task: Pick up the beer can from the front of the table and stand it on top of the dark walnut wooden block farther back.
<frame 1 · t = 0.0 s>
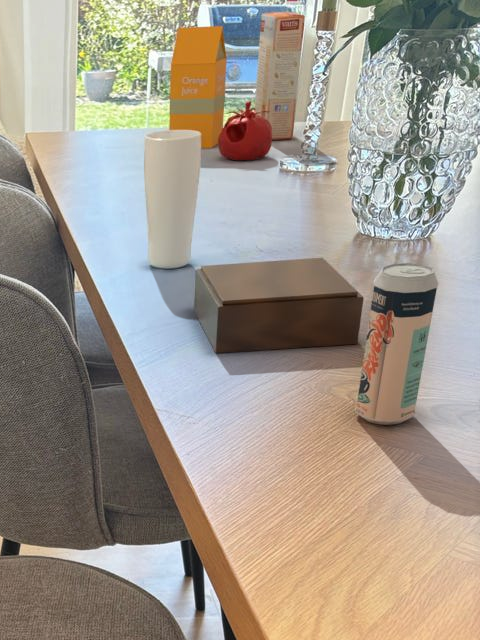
walnut block: (270, 326, 104), on the table
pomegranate: (243, 159, 182), on the table
orange juice: (195, 145, 197), on the table
cracker box: (272, 136, 200), on the table
drinking glass: (169, 265, 127), on the table
beer can: (383, 418, 83), on the table
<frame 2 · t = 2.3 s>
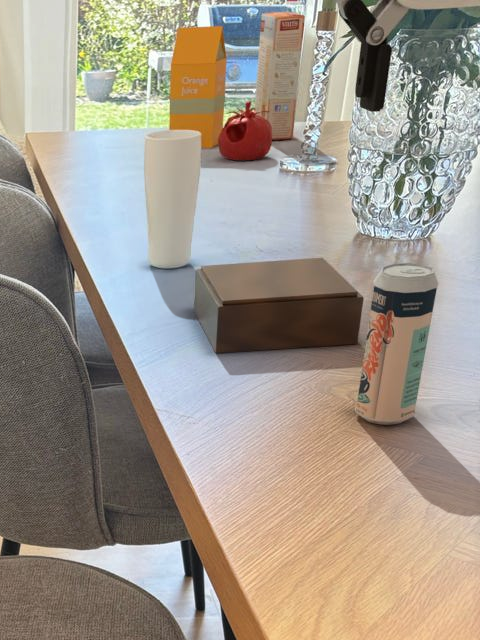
hand: (440, 104, 69), 23 cm above the table, tool pointing down, fingers open, 9 cm apart
nothing on the table moved.
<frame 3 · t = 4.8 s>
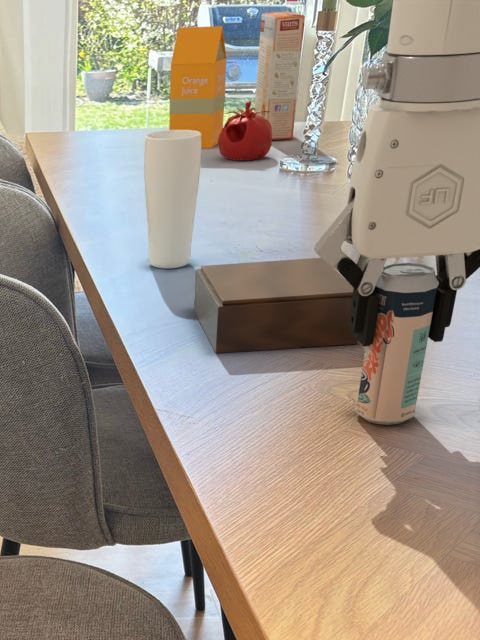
hand: (397, 336, 79), 7 cm above the table, tool pointing down, fingers closed on beer can, 4 cm apart
beer can: (383, 418, 83), on the table, touching gripper
everything else where it was.
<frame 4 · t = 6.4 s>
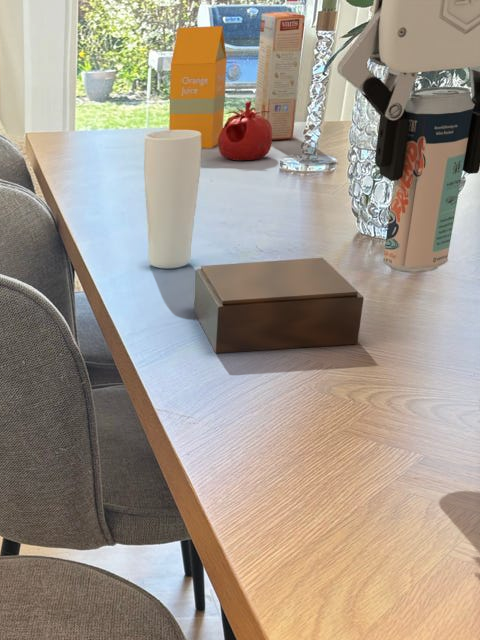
hand: (428, 170, 73), 19 cm above the table, tool pointing down, fingers closed on beer can, 4 cm apart
beer can: (413, 268, 77), point 12 cm above the table, touching gripper
everything else where it was.
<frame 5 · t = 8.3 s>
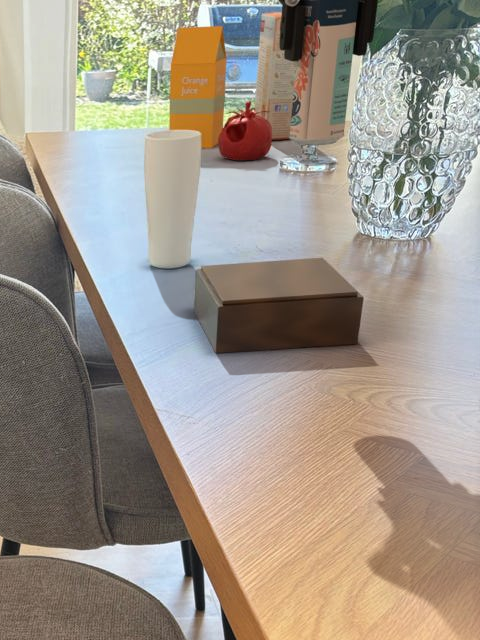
hand: (324, 54, 85), 25 cm above the table, tool pointing down, fingers closed on beer can, 4 cm apart
beer can: (315, 144, 89), point 18 cm above the table, touching gripper
everything else where it was.
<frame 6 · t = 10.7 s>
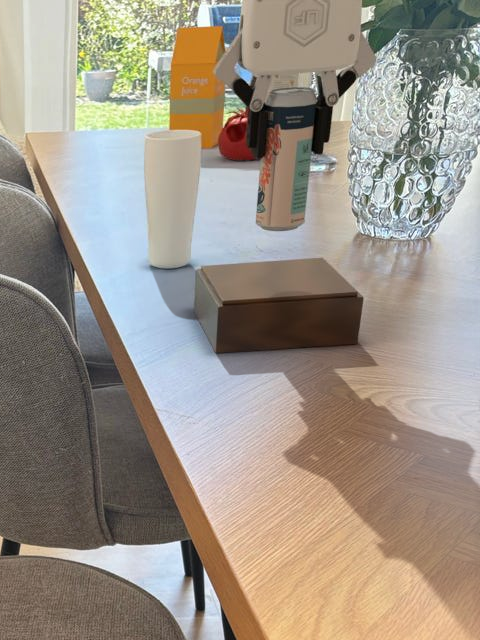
hand: (286, 151, 94), 17 cm above the table, tool pointing down, fingers closed on beer can, 4 cm apart
beer can: (279, 229, 98), point 10 cm above the table, touching gripper
everything else where it was.
when the fingers open (12 cm above the table, at t = 12.3 s): beer can stays where it is, resting on walnut block.
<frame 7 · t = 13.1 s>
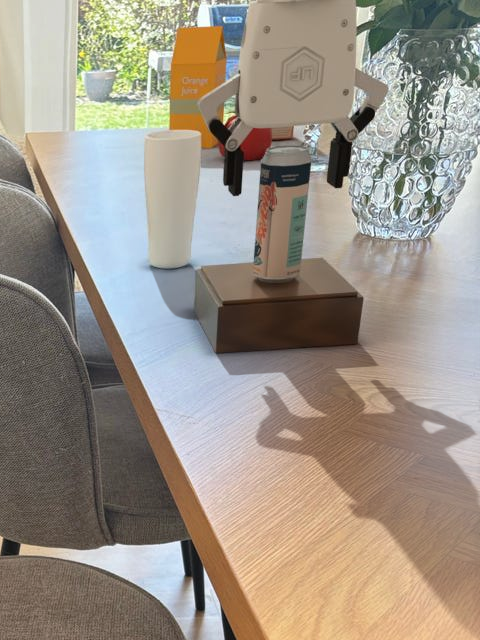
hand: (284, 189, 96), 13 cm above the table, tool pointing down, fingers open, 9 cm apart
beer can: (275, 279, 101), point 5 cm above the table, touching walnut block
everything else where it was.
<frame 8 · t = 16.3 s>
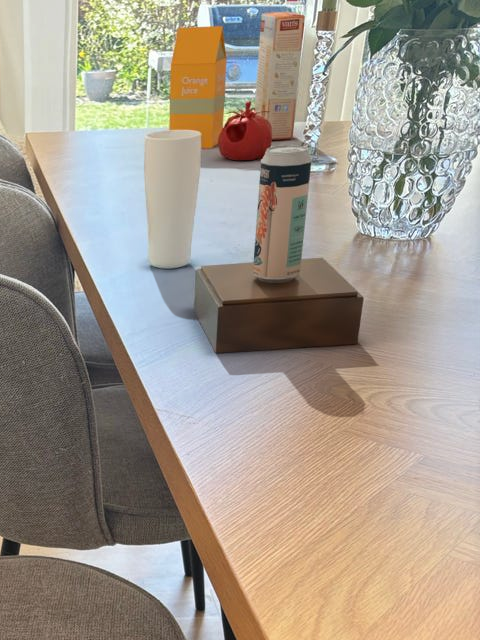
nothing on the table moved.
at the end: beer can inside the target area on the walnut block (0.1 cm from its centre), point 4.8 cm above the walnut block's base; beer can tilted 0° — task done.
